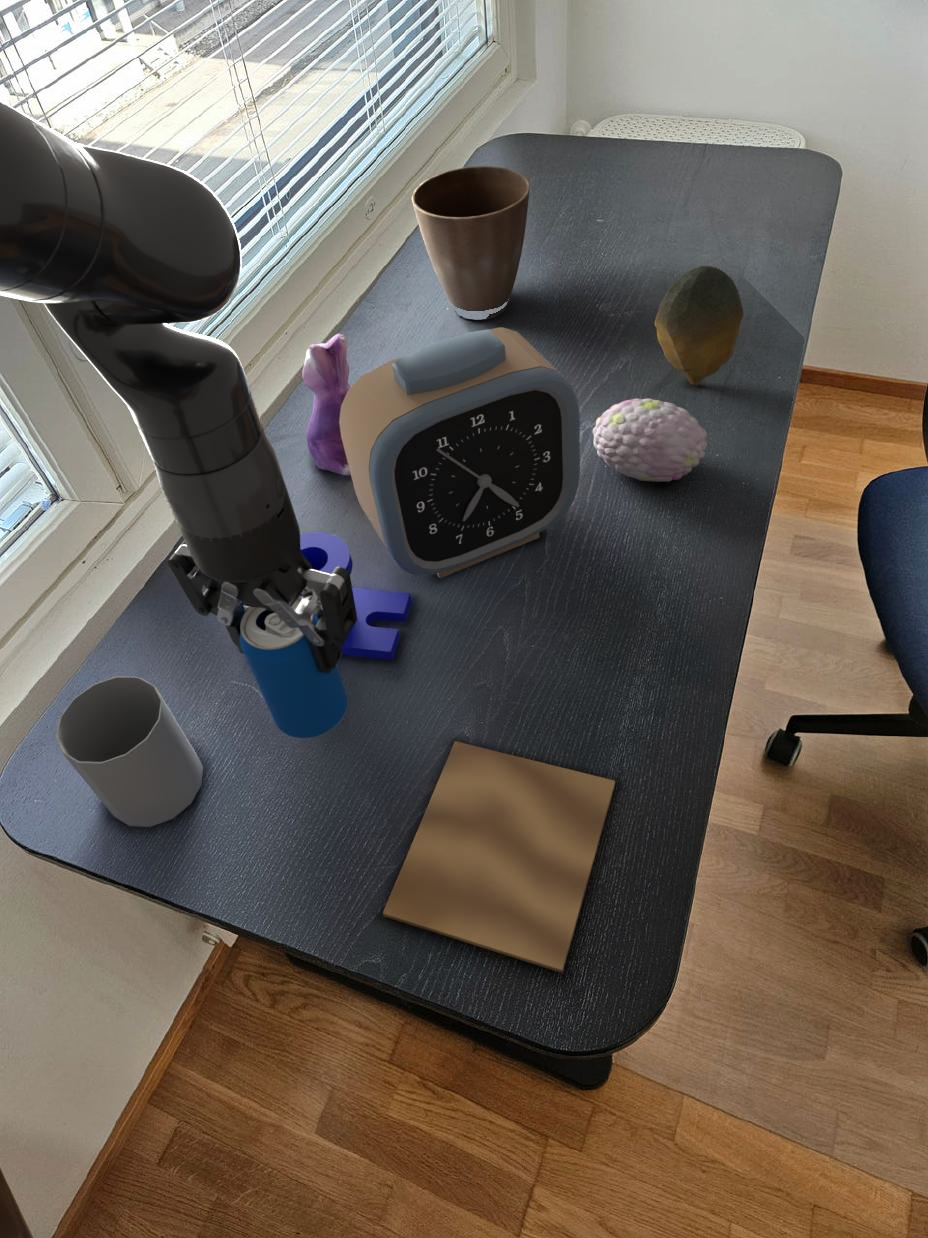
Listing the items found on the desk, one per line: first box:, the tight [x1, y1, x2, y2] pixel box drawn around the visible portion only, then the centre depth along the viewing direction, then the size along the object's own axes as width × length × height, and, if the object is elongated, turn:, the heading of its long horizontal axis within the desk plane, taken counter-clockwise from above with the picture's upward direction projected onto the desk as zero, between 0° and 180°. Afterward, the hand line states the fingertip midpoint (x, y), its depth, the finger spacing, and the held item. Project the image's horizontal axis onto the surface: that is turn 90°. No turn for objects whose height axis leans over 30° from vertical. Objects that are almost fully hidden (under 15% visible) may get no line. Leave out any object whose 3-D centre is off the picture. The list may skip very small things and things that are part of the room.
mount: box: [300, 531, 413, 661], centre depth 84 cm, size 15×8×9 cm, turn 78°
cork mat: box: [382, 740, 616, 974], centre depth 70 cm, size 16×14×1 cm
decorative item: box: [592, 397, 708, 483], centre depth 95 cm, size 9×11×10 cm
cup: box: [55, 675, 204, 828], centre depth 74 cm, size 8×8×10 cm
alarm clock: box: [339, 327, 581, 579], centre depth 86 cm, size 21×10×22 cm, turn 115°
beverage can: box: [240, 596, 349, 739], centre depth 72 cm, size 6×6×12 cm
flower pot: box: [411, 165, 531, 321], centre depth 118 cm, size 15×15×16 cm
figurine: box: [301, 333, 352, 476], centre depth 100 cm, size 9×10×15 cm
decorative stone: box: [654, 265, 744, 386], centre depth 102 cm, size 10×6×15 cm, turn 73°
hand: (290, 655), depth 71 cm, fingers closed on beverage can, 6 cm apart
